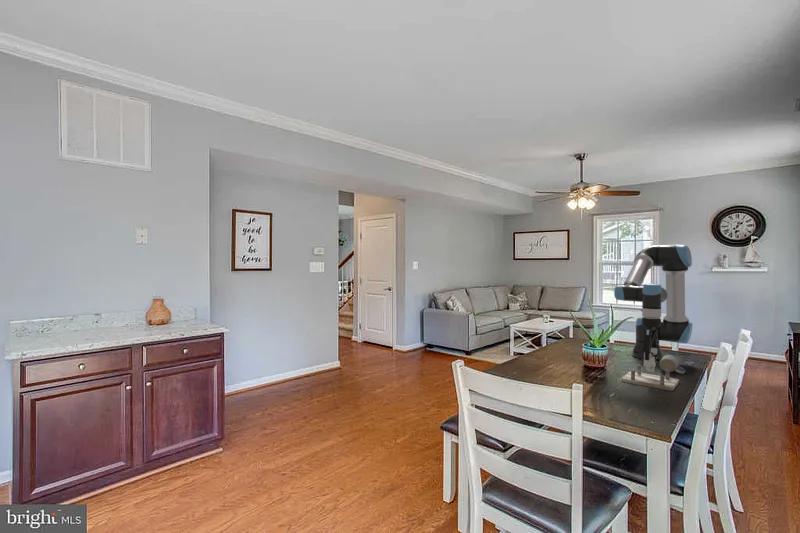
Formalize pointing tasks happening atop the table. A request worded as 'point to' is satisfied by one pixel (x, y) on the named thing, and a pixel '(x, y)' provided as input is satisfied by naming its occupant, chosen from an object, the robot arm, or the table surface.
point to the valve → (653, 363)
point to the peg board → (651, 379)
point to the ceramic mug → (671, 364)
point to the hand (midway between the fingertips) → (650, 364)
